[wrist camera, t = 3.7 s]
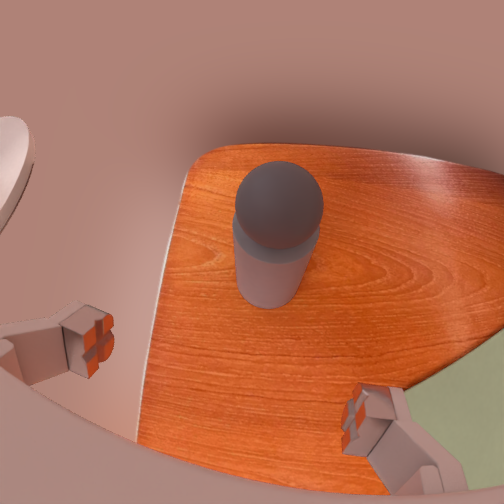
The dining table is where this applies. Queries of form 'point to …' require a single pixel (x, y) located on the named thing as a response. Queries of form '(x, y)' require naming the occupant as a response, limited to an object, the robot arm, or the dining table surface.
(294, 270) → the ball
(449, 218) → the dining table surface
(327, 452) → the dining table surface
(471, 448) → the mat
